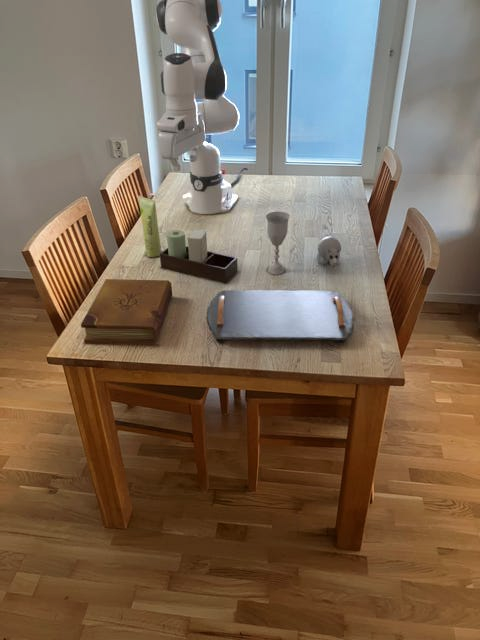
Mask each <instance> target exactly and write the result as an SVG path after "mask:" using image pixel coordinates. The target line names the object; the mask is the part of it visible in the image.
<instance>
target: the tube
mask: <svg viewBox="0 0 480 640" xmlns="http://www.w3.org/2000/svg"><path fill="white" fill-rule="evenodd" d="M138 203H139V209H140V217H141V224H142V225H141V226H142V231H143V238H144V239H143V240H144V246H145V254H146V257H150V258H157V257H160V253H161V252H162V247H161V238H160V231H159V230H160V229H159V222H158V215H157V205H156V200H154V199H151V198H149V197H148V198H147V197H144V196H141V195H138Z"/></svg>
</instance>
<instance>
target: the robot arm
mask: <svg viewBox="0 0 480 640" xmlns="http://www.w3.org/2000/svg"><path fill="white" fill-rule="evenodd" d="M155 10H156V11H155V20H156V23H157V26H158V28H159V30H160V31H161V33H163V34H164V35H167V36H168V38H169V39H170V40H171V41H172V42H173V43H174V44H175V45H176V46H178V47H180V52H173V53H171V54H168V55H166V56H165V57H164V59H163V69H162V71H161V72H160V85H161V93H162V94H163V95H164V96H165V97H166V99H165V112H164V113H163V115H162V116H161V117H160V119H159V120H158V121H157V122H156V130H158V131H159V133H158V149H159V155H160V157H161V158H162V159H163V160H167V161H168V160H169V161H170V163H171V165H172V170H173V172H180V171H181V170H182V166H181V164H180V163H179V157H180V156H182V155H184V154H186V153H188V156H189V165H190V172H189V180H190V183H189V184H188V193H186V194H183V195H182V198H183V199H185V198H188V200H187V201H186V203H185V204H186V206H187V207H188V209H189V211H191V212H192V213H193V214H194V213H195V214H197V215H215V214H220V213H229V212H230V211H231V210H232V209H233V207H234V205H235V204H236V202H237V201H238V200H239V196H238V195H237V194H235V193H233V185H235V184H236V183H237V182H238V181H239V180H240V178H241V174H242V172H244V171H248V170H249V169H248V167H246V166H244V167H243V168H241V169H240V170H239V171H238V173H237V177H236V178H235V179H234V180H233V181H232V182H231V183H229V182H228V181H226V180H225V179H224V176H223V175H226V173H227V170H226V169H225V168H221V153H220V151H219V149H218V147H216V146H215V145H213V144H212V143H208V142H207V141H206V138H207V137H206V135H210V136H211V135H223V134H226V133H231V132H233V131H235V130H236V128H237V127H238V125H239V122H240V112H239V110H238V108H237V106H236V105H235V104H234V102H231V101H230V100H229V99H228V98H227V97H226V96H225V93H226V92H227V85H228V81H227V74H226V70H225V69H224V66H223V63H222V60H221V56H220V52H219V50H218V46H217V41H216V38H215V35H214V33H215V31H216V30H217V29H218V28H219V26H220V25H221V22H222V18H223V5H222V2H221V0H161V1H159V2H158V4H157V5H156V9H155ZM197 100H202V101H198V102H197Z"/></svg>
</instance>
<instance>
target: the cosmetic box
mask: <svg viewBox="0 0 480 640" xmlns="http://www.w3.org/2000/svg"><path fill="white" fill-rule="evenodd" d="M187 247H188V250H189V260H192V261H196V262H200V263H203V262H204V261H205V260H206V259H208V253H207V251H208V239H207V231H206V230H201V229H192V231H191V232H190V233H189V234H188V236H187Z"/></svg>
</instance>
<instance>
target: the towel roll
mask: <svg viewBox="0 0 480 640" xmlns="http://www.w3.org/2000/svg"><path fill="white" fill-rule="evenodd" d="M166 241H167V248H168V253H169V255H170V256H174V257H179V258H182V257H183V256H184V255H185V254H186V246H187V241H186V232H185V231H184V230H182V229H171V230H169V231H167V232H166Z"/></svg>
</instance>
